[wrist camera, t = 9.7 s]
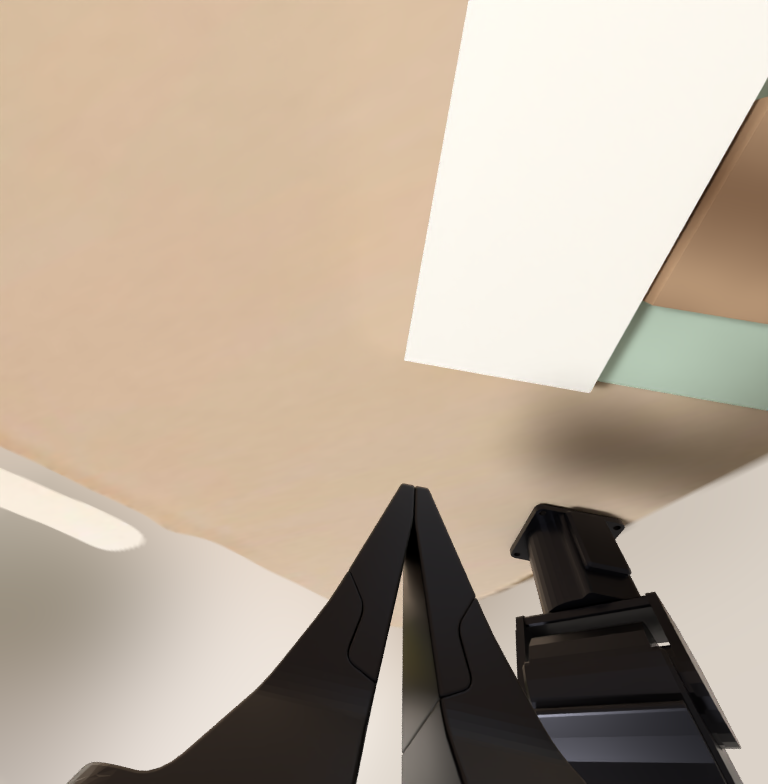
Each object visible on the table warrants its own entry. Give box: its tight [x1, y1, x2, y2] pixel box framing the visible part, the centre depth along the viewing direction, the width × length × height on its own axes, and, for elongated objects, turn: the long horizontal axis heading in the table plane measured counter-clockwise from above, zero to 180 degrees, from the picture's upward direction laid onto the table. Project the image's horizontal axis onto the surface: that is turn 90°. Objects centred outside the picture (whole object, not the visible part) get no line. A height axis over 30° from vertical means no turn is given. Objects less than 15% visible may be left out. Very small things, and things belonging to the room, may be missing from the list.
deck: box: [404, 0, 768, 393], centre depth 14 cm, size 16×10×2 cm, turn 173°
